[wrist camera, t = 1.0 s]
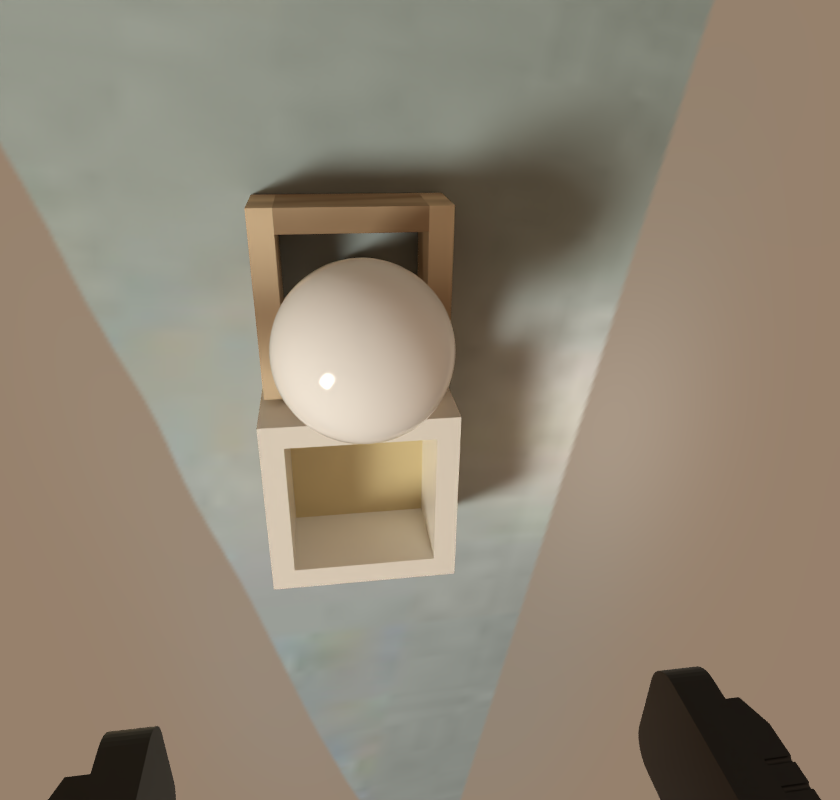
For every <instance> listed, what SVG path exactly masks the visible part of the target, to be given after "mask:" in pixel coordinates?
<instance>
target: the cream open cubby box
mask: <svg viewBox="0 0 840 800" xmlns="http://www.w3.org/2000/svg"><path fill="white" fill-rule="evenodd" d="M460 437H461V415H460V413H459V410H458V408H457V406H456V403H455V401H454V399H453V396H452V394H451V392H450V389H449V387H448V390H447V392H446V394H445V396H444V398H443V399H442V401H441V402H440V404H439V405H438V407H437V408H436V409H435V411H434V412H433V413H432V414H431V415H430V416H429V417H428V418H427V419H426V420H425V421H424V422H423V423H422V424H420V425H419V426H418V427H416V428H415V429H413V430H412V431H410V432H408V433H406V434H405V435H402V436H400V437H398V438H395V439H392V440H389V441H386V442H381V443H375V444H351V443H345V442H340V441H337V440H334V439H331V438H328V437H326V436H324V435H321V434H319V433H318V432H316V431H314V430H313V429H311V428H310V427H308V426H307V425H305V424H304V423H303V422H302V421H301V420H299V419H298V418H297V417H296V416H295V415H294V414H293V412H292V411H291V410H290V409H289V408H288V406H287V405H286V404H285V402H284V400H283V399H274V400H264V395H263V389H262V395H261V402H260V409H259V416H258V422H257V438H258V447H259V456H260V465H261V474H262V484H263V493H264V502H265V511H266V520H267V529H268V539H269V548H270V557H271V566H272V575H273V584H274V589H285V588H296V587H308V586H319V585H330V584H341V583H352V582H363V581H374V580H386V579H397V578H408V577H419V576H430V575H441V574H452V573H454V566H455V544H456V523H457V502H458V480H459V459H460Z"/></svg>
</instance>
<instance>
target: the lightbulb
mask: <svg viewBox="0 0 840 800" xmlns="http://www.w3.org/2000/svg"><path fill="white" fill-rule="evenodd" d="M455 357H456V345H455V336H454V331H453V327H452V323H451V320H450V318H449V315H448V313H447V311H446V309H445V307H444V305H443V303H442V302H441V300H440V299H439V297H438V296H437V295H436V293H435V292H434V291H433V290H432V289H431V288H430V286H429V285H428V284H426V283H425V282H424V281H423V280H422V279H421V278H420V277H418V276H417V275H415V274H414V273H412V272H411V271H409V270H407V269H406V268H404V267H402V266H399V265H397V264H395V263H392V262H388V261H385V260H381V259H375V258H349V259H343V260H339V261H335V262H332V263H329V264H327V265H324V266H322V267H320V268H318V269H316V270H314V271H313V272H311V273H310V274H308V275H307V276H306V277H304V278H303V279H302V280H301V281H299V282H298V283H297V284H296V285H295V286H294V287H293V289H292V290H291V291H290V292H289V293H288V295H287V296H286V297H285V299H284V301H283V302H282V304H281V306H280V307H279V309H278V311H277V314H276V316H275V319H274V322H273V325H272V329H271V334H270V341H269V360H270V367H271V372H272V376H273V379H274V382H275V385H276V387H277V389H278V392H279V394H280V395H281V397H282V399H283V400H284V402H285V404H286V405H287V406H288V408H289V409H290V410H291V411H292V412H293V414H294V415H295V416H296V417H297V418H298V419H299V420H301V421H302V422H303V423H304V424H305V425H307V426H308V427H310V428H311V429H313V430H314V431H316V432H318V433H319V434H321V435H324V436H326V437H328V438H331V439H334V440H337V441H340V442H345V443H351V444H375V443H381V442H386V441H389V440H392V439H395V438H398V437H400V436H402V435H405V434H406V433H408V432H410V431H412V430H413V429H415V428H416V427H418V426H419V425H420V424H422V423H423V422H424V421H425V420H426V419H427V418H428V417H429V416H430V415H431V414H432V413H433V412H434V411H435V409H436V408H437V407H438V405H439V404H440V402H441V401H442V399H443V398H444V396H445V394H446V392H447V390H448V387H449V385H450V382H451V379H452V376H453V371H454V366H455Z"/></svg>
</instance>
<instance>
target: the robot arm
mask: <svg viewBox="0 0 840 800" xmlns="http://www.w3.org/2000/svg"><path fill="white" fill-rule="evenodd" d="M639 745H640V751H641V755H642V758H643V762H644V765H645V767H646V769H647V771H648V774H649V776H650V778H651V780H652V782H653V784H654V787H655V789H656V791H657V793H658V795H659V797H660V800H821V799H820V798H819V796H818V795H817V793H816V792H815V790H814V789H811V788H810V786H809V781H808V780H807V778H806V777H805V776H804V774H803V773H802V771H801V770H800V768H799V767H798V765H797V764H796V762H792V760H791V755H790V753H789V752H788V750H787V749H786V748H785V746H784V745H783V743H782V742H781V740H780V739H779V737H778V736H777V734H776V733H775V731H774V730H773V728H772V727H771V725H770V724H769V723H768V722H767V721H766V720H765V719H763V718H762V717H761V716H760V715H759V714H758V713H756V712H755V711H754V710H753V709H752V708H751V707H749V706H748V705H747V704H746V703H745V702H744V701H742V700H741V699H740V698H738V697H737V698H729V699H725V697H724V696H723V694H722V693H721V691H720V690H719V688H718V686H717V685H716V683H715V682H714V680H713V679H712V677H711V676H710V674H709V673H708V672H707V671H706V670H704V669H703V668H701V667H689V668H681V669H672V670H663V671H657V672H655V673H654V675H653V677H652V680H651V684H650V688H649V692H648V696H647V699H646V703H645V707H644V711H643V714H642V718H641V722H640V726H639ZM48 800H176V794H175V785H174V781H173V776H172V772H171V768H170V764H169V760H168V757H167V753H166V749H165V744H164V740H163V736H162V732H161V730H160V728H159V727H158V726H155V727H147V728H137V729H129V730H120V731H111V732H107V733H106V734H105V735H104V736H103V738H102V740H101V742H100V745H99V748H98V751H97V755H96V758H95V761H94V764H93V768H92V771H91V774H89V775H81V776H72V777H65V778H64V779H63V780H62V782H61V783H60V784H59V786H58V787H57V788H56V790H55V791H54V793H53V794H52V795H51V797H50V798H49V799H48Z"/></svg>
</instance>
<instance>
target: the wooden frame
mask: <svg viewBox="0 0 840 800" xmlns="http://www.w3.org/2000/svg"><path fill="white" fill-rule="evenodd" d="M245 217H246V227H247V237H248V247H249V257H250V267H251V277H252V287H253V296H254V306H255V316H256V326H257V336H258V346H259V356H260V366H261V375H262V385H263V395H264V400H274V399H282V397H281V395H280V394H279V392H278V389H277V387H276V385H275V382H274V379H273V376H272V372H271V367H270V360H269V341H270V334H271V329H272V325H273V322H274V319H275V316H276V314H277V311H278V309H279V307H280V306H281V304H282V302H283V301H284V293H283V281H282V269H281V256H280V244H279V235H285V234H338V233H392V232H418V273H417V276H418V277H420V278H421V279H422V280H423V281H424V282H425V283H426V284H428V285H429V286H430V288H431V289H432V290H433V291H434V292H435V293H436V295H437V296H438V297H439V299H440V300H441V302H442V303H443V305H444V307H445V309H446V311H447V313H448V315H449V318H450V320H451V300H452V272H453V245H454V217H455V205H454V204H453V203H452V202H451V201H450V200H449V199H448V198H447V197H446V196H445V195H443V194H442V193H355V194H262V195H250V198H249V200H248V202H247V204H246V206H245Z"/></svg>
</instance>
